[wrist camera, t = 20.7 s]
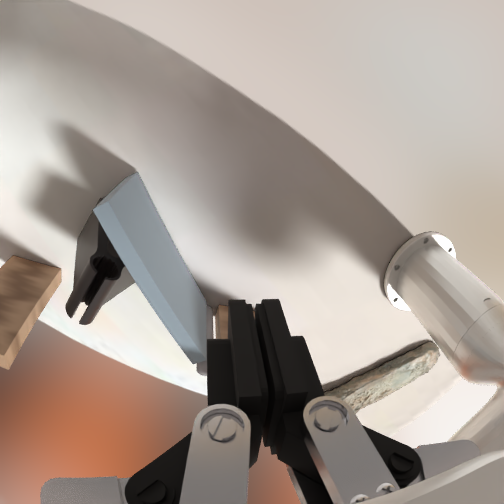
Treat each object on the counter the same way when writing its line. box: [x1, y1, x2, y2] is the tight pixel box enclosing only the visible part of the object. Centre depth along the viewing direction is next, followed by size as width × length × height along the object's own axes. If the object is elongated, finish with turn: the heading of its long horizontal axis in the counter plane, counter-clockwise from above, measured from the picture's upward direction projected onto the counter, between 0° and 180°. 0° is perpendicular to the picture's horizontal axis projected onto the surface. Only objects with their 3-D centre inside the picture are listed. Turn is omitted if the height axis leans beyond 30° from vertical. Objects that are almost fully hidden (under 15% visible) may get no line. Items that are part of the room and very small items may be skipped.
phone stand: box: [66, 198, 135, 325], centre depth 29 cm, size 9×6×12 cm, turn 49°
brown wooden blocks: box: [0, 255, 255, 369], centre depth 30 cm, size 35×2×16 cm, turn 73°
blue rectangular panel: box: [93, 172, 213, 376], centre depth 30 cm, size 20×2×10 cm, turn 21°
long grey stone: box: [324, 342, 440, 414], centre depth 50 cm, size 35×5×10 cm
